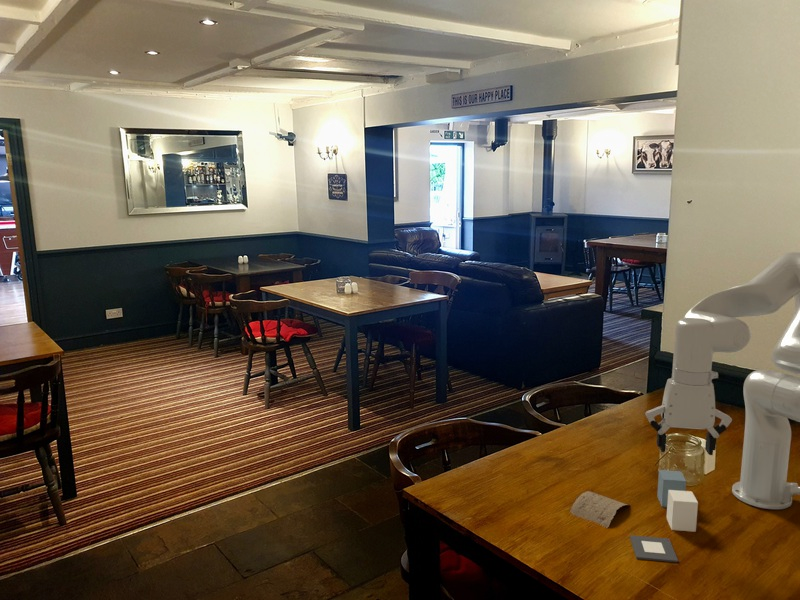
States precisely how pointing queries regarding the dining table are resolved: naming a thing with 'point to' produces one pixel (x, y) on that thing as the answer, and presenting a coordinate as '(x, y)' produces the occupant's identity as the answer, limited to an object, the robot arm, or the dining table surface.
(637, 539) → the card
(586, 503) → the clay tablet
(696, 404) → the robot arm
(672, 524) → the cream block
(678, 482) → the slate-blue block
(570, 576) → the dining table surface
